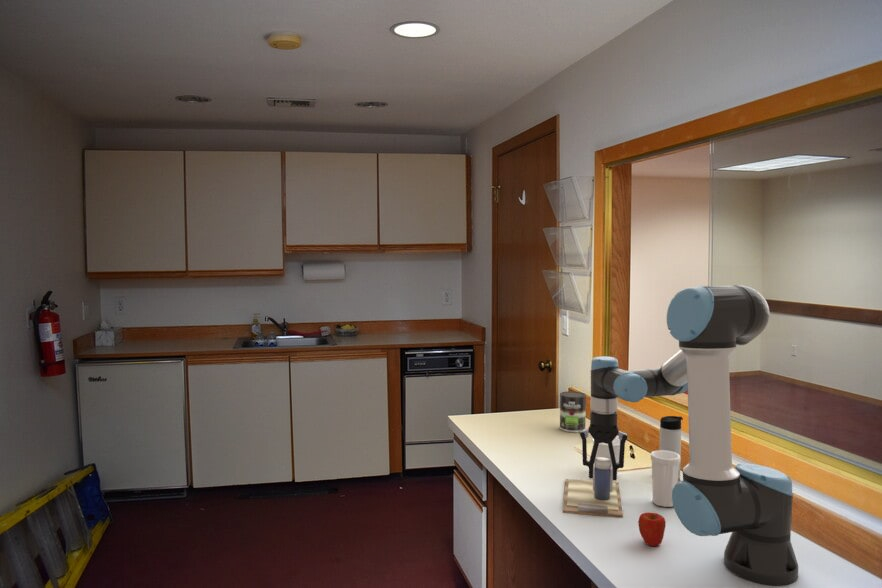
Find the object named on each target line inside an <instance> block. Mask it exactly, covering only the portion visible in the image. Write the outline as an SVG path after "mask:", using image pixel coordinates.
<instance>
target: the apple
mask: <svg viewBox="0 0 882 588" xmlns="http://www.w3.org/2000/svg"><path fill="white" fill-rule="evenodd" d="M637 522H638V524H637V525H638V530H639V534H640V536H641V538H642V540H643V542H644V543H646V544H647V545H649V546H652V547H658V546H660V545H661V544H662V542H663V539H664V536H665V530H666V523H667V521H666V519H665V517H663V516H662V515H660V514H659V513H657V512H656V513H655V512H651V511H650V512H644V513H643V512H642V513H641V514H640V515H639V518H638V521H637Z"/></svg>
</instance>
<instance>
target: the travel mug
mask: <svg viewBox="0 0 882 588" xmlns="http://www.w3.org/2000/svg"><path fill="white" fill-rule="evenodd" d="M683 420H684V419H683V416H676V415H668V416H662V417H661V418H660V422H659V423H660V425H659V450H665V451H671V452H675V453H677V454H679V455H680V462H679V471H678V482H681V464H682V463H681V457H682V456H681V455H682V448H681V447H682V421H683Z"/></svg>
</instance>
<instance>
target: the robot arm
mask: <svg viewBox="0 0 882 588" xmlns="http://www.w3.org/2000/svg"><path fill="white" fill-rule="evenodd" d="M666 311H667V312H666V325H667V330H669V334H670V336H671V337H672V338H674V339H675V340H677V341H678V349H680V350H678V351H677V352H676V353H675V354H673V355H672V357H670V358H669V359H668V360H666V361H665V362H664V363H663V364H662V365H660V366H659V367H657V368H647V369H646V368H645V369H635V370H634V369H633V370H625V369H621V368H620V366H619V361H618V359H617V358H616V357H613V356H601V355H600V356H596V357H595V356H594V357H593V358H592V359H591V363H590V364H591V366H590V408H589V409H591V410H590V414H589V415H590V416H589V417H590V418H589V426H588V427H587V428H588V429H585V430H584V431H583V430H581V431H580V432H579V436H580V439H581V440H582V441H581V443H582V444H581V446H582V451H581V452H582V466H585V467H588V478H589V479H592V481H593V491H594V487H595V467H594V462H595V458H596V453H597V449H598V446H599V443H606V444H608V447H609V452H610V457H611V462H612V467H611V468H610V492H612V491H613V482H614V481H617V479H618V477H617V476H618V473H617V469H618V470H619V469H623V468H624V467H625V465H624V464H625V448H626V441H627V440H628V433H627V432H622V431H620V430H619V427H618V413H617V411H618V404H619V403H618V401H619V400H618V398H619V399H620V400H622V401H625V402H629V403H638V402H640V401H642V400H643V399H644V398H651V397H663V396H664V397H665V396H676V395H680V394H683V393H685V392H686V391H687V408H688V409H687V410H688V443H689V444H688V447H689V448H688V449H689V450H688V451H689V452H688V453H689V462H688V463H687V464H686V465H685V466H683V468H682V480H680V481H678V483H677V484H676V485H675V487H674V488H673V490H672V502H673V506H672V507H673V508H674V512H675V515H676V516H677V518H678V519H679V522H680V523H681V524H682V526H683V527H684V528H685V529H686V530H687V531H688V532H690V533H691V534H693V535H695V536H698V537H708V536H709V537H710V536H711V537H716V536H719V535H724V534H728V533H731V534H730V536H729V538H728V541H727V544H726V546H725V549H724V552H723V563H724V565H725V567H726V568H727V569H728V570H729V571H730V572H731V573H733V574H734V575H736V576H738V577H741V578H743V579H745V580H748V581H750V582H754V583H758V584H762V585H769V586H783V585H784V586H785V585H789V584H792V583H794V582H796V581H797V580H798V578H799V563H798V561H797V557H796V554H795V550H794V548H793V544H792V542H791V541H792V540H791V535H792V534H791V533H792V517H793V516H792V513H793V497H794V493H793V482H792V479H791V478H790V476H788V474H786V473H784V472H783V471H781V470H778V469H776V468H772V467H769V466H766V465H765V466H764V465H762V464H761V465H760V464H755V463H746V462H744V463H738V464H736V465H735V467H734V465H733V454H732V453H733V451H732V449H733V448H732V424H731V423H732V421H731V419H732V418H731V389H730V388H731V387H730V386H731V383H730V380H731V379H730V358H729V357H730V355H731V353H733V352H734V351H735V350H736V348H737V346H745V345H748V344H749V343H750V342H752V341H753V340H754V339H755V338H757V337H758V336H759V335H760V334H761V333H762V332H764V330H765V329H766V327H767V325H768V323H769V319H770V307H769V304H768V302H767V300H766V299H765V297H764V296H763V295H762V294H761V293H760V292H759V291H758V290H756V289H754V288H753V287H750V286H746V285H738V284H737V285H735V284H734V285H711V286H710V285H707V286H706V285H704V286H703V285H699V286H693V287H685V288H683V289H680V290H679V291H678V292H676V293H675V295H674V296H673V298H671V300H670V302H669V304H668V307H667V310H666ZM589 435H590V436H591V437H592V439H594V444H593V445H592V448H591V453H590V457H589V460H588V453H587V452H588V450H587V449H588V448H587V446H588V445H587V438H589ZM615 437H618V438H619V439H620V451H619V462H618V463H616V459H615V454H614V449H613V444H612V441H613V440H614V438H615Z"/></svg>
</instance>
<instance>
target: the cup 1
mask: <svg viewBox="0 0 882 588" xmlns="http://www.w3.org/2000/svg"><path fill="white" fill-rule="evenodd" d="M591 441H592V442H593V444H594V439H593V438H592V439H591ZM612 444H613V449H614V454H615V459H616V463H618V462H619V451H620V439H619V436H616V437H615V438H614V440H613V441H612ZM599 457H603V458H608V459H610V460H611V457H610V452H609V447H608V444H606V443H599V446H598V449H597V453H596V457H595V458H599ZM611 467H612V462H611ZM618 472H619V469H617V474H618Z"/></svg>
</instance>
